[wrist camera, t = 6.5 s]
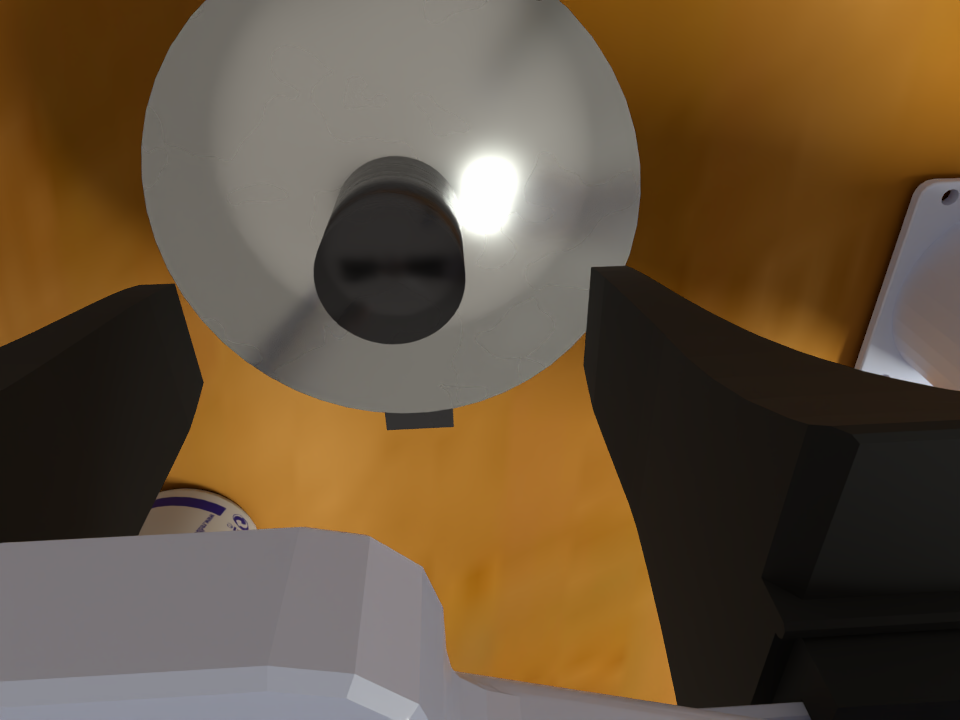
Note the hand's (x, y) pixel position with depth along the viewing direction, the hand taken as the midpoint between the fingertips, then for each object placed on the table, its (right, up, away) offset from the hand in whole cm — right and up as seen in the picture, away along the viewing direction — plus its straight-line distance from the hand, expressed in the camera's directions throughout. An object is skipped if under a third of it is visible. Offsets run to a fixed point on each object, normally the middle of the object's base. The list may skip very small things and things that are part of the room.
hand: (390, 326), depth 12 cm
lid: (0, +3, +4) cm, 5 cm away
